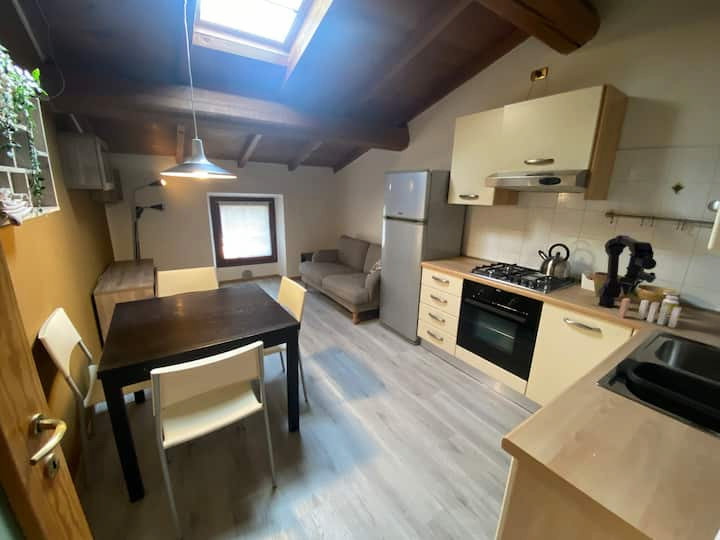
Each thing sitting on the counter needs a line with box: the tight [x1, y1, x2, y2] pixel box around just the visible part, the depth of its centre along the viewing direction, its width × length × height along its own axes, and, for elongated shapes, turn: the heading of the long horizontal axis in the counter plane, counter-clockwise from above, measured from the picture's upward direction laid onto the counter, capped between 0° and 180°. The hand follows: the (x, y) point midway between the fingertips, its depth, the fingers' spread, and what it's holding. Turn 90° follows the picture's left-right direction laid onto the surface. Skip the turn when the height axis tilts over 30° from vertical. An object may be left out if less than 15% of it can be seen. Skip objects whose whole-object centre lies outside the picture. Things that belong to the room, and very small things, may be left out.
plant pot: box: [593, 271, 623, 299], centre depth 190 cm, size 15×15×16 cm
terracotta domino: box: [617, 297, 631, 319], centre depth 158 cm, size 2×5×10 cm, turn 123°
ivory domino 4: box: [667, 306, 682, 329], centre depth 147 cm, size 2×5×10 cm, turn 123°
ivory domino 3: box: [656, 304, 670, 326], centre depth 150 cm, size 2×5×10 cm, turn 123°
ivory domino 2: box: [646, 301, 660, 323], centre depth 153 cm, size 2×5×10 cm, turn 123°
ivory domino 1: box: [636, 299, 650, 320], centre depth 157 cm, size 2×5×10 cm, turn 123°
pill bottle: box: [659, 294, 680, 317], centre depth 163 cm, size 6×6×11 cm
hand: (628, 294), depth 156 cm, fingers open, 9 cm apart
